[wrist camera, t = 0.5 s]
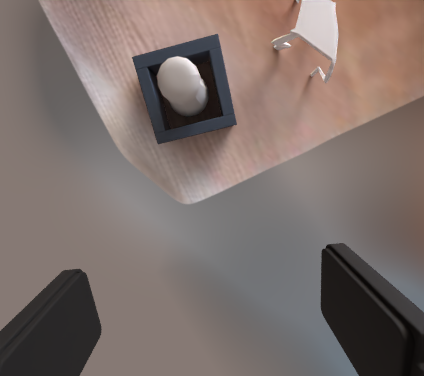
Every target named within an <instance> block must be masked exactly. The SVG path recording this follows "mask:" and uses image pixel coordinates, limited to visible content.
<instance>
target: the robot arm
mask: <svg viewBox="0 0 424 376" xmlns="http://www.w3.org/2000/svg"><path fill="white" fill-rule="evenodd" d="M321 311H322V314H323V316H324V318H325V320H326V321H327V323H328V325H329V326H330V328H331V330H332V331H333V333H334V335H335V336H336V338H337V340H338V342H339V343H340V345H341V347H342V348H343V350H344V352H345V353H346V355H347V357H348V358H349V360H350V362H351V363H352V365H353V367H354V368H355V370H356V372H357V373H358V375H359V376H424V312H423V311H422V310H420V309H419V308H418V307H417V306H416V305H415V304H414V303H412V302H411V301H410V300H409V299H408V298H406V297H405V296H404V295H403V294H402V293H401V292H400V291H399V290H397V289H396V288H395V287H394V286H393V285H392V284H390V283H389V282H388V281H387V280H386V279H385V278H383V277H382V276H381V275H380V274H379V273H378V272H377V271H375V270H374V269H373V268H372V267H371V266H369V265H368V264H367V263H366V262H365V261H364V260H362V259H361V258H360V257H359V256H358V255H357V254H355V252H353V251H352V250H351V249H350V248H349V247H347V246H346V245H345V244H343V243H339V244H329V245H327V246H326V249H323V250H322V264H321ZM100 335H101V324H100V320H99V317H98V313H97V310H96V306H95V302H94V299H93V296H92V292H91V288H90V285H89V281H88V278H87V275H86V273H85V272H83V271H82V270H81V269H73V270H64V271H62V272H61V273H60V274H59V275H58V276H57V277H56V278H55V279H54V280H53V281H52V282H51V283H50V284H49V285H48V286H47V287H46V288H44V289H43V290H42V291H41V292H40V293H39V294H38V295H37V296H36V297H35V298H34V299H33V300H32V301H31V302H30V303H29V304H28V305H27V306H26V307H25V308H24V309H23V310H22V311H21V312H20V313H19V314H18V315H16V317H14V319H12V321H10V322H9V323H8V324H7V325H6V326H5V327H4V328H3V329H2V330H1V331H0V376H79V375H80V373H81V372H82V370H83V368H84V366H85V364H86V362H87V360H88V358H89V357H90V355H91V353H92V351H93V349H94V347H95V345H96V343H97V342H98V339H99V338H100Z"/></svg>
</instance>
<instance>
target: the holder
mask: <svg viewBox="0 0 424 376" xmlns="http://www.w3.org/2000/svg"><path fill="white" fill-rule="evenodd" d="M177 56H178V57H183V58H187V59H188V60H189V61H191V62H192V63H193V64H194V65H198V64H202V63H206V62H209V63H210V67H211V72H212V76H213V81H214V85H215V90H216V94H217V99H218V103H219V108H220V112H221V117H217V118H214V119H210V120H206V121H202V122H198V123H194V124H190V125H186V126H182V127H178V128H174V129H171V127H170V124H169V120H168V116H167V113H166V109H165V106H164V102H163V98H162V95H161V91H160V89H159V87H158V80H157V77H156V76H157V74H158V71H159V69H160V67H161V65H162V64H163V63H164V62H165V61H166V60H167V59H168V58H172V57H177ZM132 59H133V62H134V65H135V69H136V72H137V75H138V79H139V82H140V85H141V89H142V92H143V96H144V99H145V102H146V106H147V109H148V112H149V116H150V119H151V123H152V126H153V129H154V133H155V136H156V140H157V143H158V144H161V143H165V142H169V141H173V140H177V139H181V138H185V137H189V136H193V135H197V134H201V133H205V132H209V131H213V130H217V129H221V128H225V127H229V126H233V125H237V123H236V118H235V114H234V109H233V104H232V99H231V94H230V89H229V85H228V80H227V75H226V70H225V65H224V60H223V56H222V51H221V46H220V41H219V36H218V34H215V35H211V36H208V37H204V38H200V39H197V40H193V41H189V42H186V43H182V44H178V45H175V46H171V47H167V48H164V49H160V50H156V51H153V52H149V53H145V54H142V55H138V56H134V57H132Z"/></svg>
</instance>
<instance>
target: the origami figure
mask: <svg viewBox="0 0 424 376" xmlns="http://www.w3.org/2000/svg"><path fill="white" fill-rule="evenodd" d="M296 2H297V3H299V0H296ZM335 4H336V3H334V2H332V1H331V0H302V2H301V9H300V13H299V16H298V20H297V24H296V28H294V29H293V30H291V31H290V33H289V34H286V35H284V36H281V37H279V38H276V39H274V40H273V41H272V42H271V43H273V44H274V45H275V46H274V48H275V49H277V50H281V49H285V48H289V47H290V46H291V45H290V44H288V43H286V42H288V41H290V40H292V39H295V38H297V37H299V38H301V39H302V40H303V41H305V42H306V43H307V44H309V45H310V46H311V47H313V48H314V49H315V50H317V51H318V52H319V53H321V54H322V55H323V56H325V57H326V58H327V59H329V60H330V61H332V62H331V65H330V67H329V70H328V72H327V74H326V76H325V75H324V73H323V72H322V70H321V69H320V68H319V67H317V68H316V69H315V70H314V71H313V72H312V73H311V74H310V75H311V77H313V76H314V75H315V74H316V73H317V72H318V71H319V72H320V74H321V76H322V78H323V80H324V82H325V83H327V82H328V81H329V79H330V77H331V74H332V72H333V68H334V65H335V62H336V53H337V43H338V26H337V19H336V12H335V8H336V7H335Z"/></svg>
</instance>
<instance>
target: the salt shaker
mask: <svg viewBox="0 0 424 376" xmlns="http://www.w3.org/2000/svg"><path fill="white" fill-rule="evenodd" d="M157 78H158V87H159V89H160V91H161V93H162V95H163V96H164V97H165V98H166V99H168V101H169V103H170V105H171V107H172V109H173V110H174V111H176V112H177V113H178V114H179V115H183V116H187V117H190V116H194V115H198V114H199V113H200V112H201V111H203V110H204V109H205V107H206V104H207V102H208V100H209V90H208V88H207V85H206V83H205V81H204V80H203V79H202V78H201V77H200V74H199V72H198V70H197V68H196V66H195V65H194V64H193V63H192V62H191V61H189V60H188V59H187V58H183V57H178V56H177V57H172V58H168V59H167V60H166V61H165V62H164V63H163V64H162V65H161V67H160V69H159V71H158V74H157Z"/></svg>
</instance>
